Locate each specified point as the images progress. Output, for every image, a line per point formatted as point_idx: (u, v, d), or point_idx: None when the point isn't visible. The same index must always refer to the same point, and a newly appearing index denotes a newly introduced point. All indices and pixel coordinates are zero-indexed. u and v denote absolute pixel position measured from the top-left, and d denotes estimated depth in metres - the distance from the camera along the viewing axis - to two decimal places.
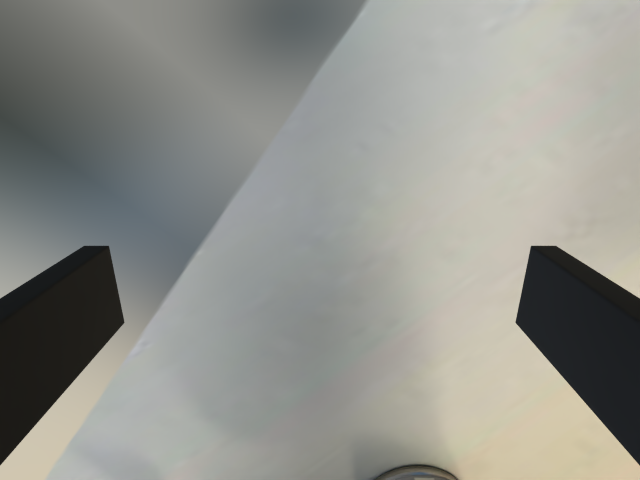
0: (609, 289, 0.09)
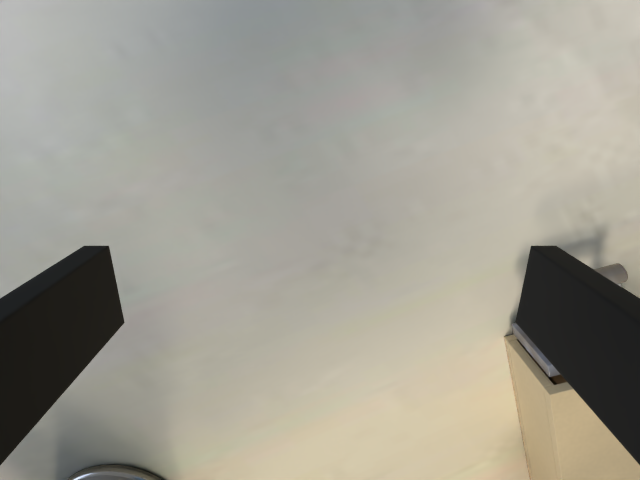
0: (609, 289, 0.09)
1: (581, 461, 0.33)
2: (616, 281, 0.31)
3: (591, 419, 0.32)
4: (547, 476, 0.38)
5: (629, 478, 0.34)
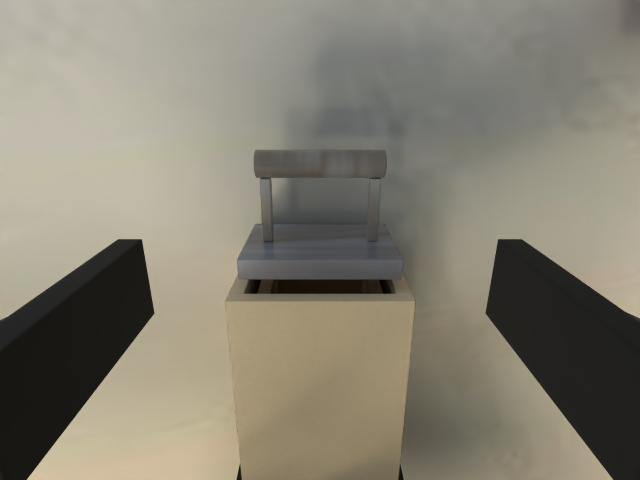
0: (562, 278, 0.10)
1: (266, 420, 0.23)
2: (370, 169, 0.21)
3: (284, 357, 0.22)
4: None
5: (330, 462, 0.24)
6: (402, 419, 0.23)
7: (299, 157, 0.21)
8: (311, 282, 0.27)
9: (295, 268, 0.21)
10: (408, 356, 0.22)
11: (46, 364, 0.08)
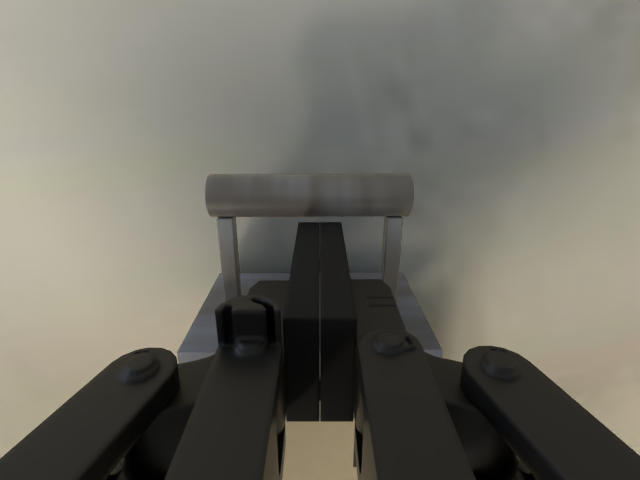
0: (333, 251, 0.11)
1: None
2: (387, 205, 0.14)
3: None
4: None
5: None
6: None
7: (277, 186, 0.14)
8: None
9: None
10: None
11: None
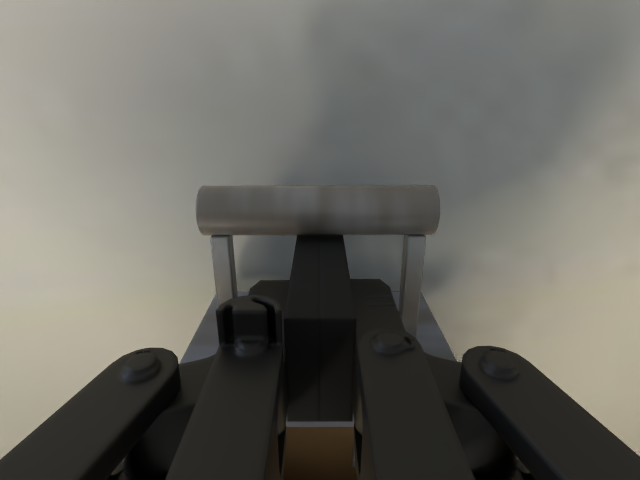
0: (332, 251, 0.11)
1: None
2: (409, 223, 0.12)
3: None
4: None
5: None
6: None
7: (279, 201, 0.12)
8: None
9: None
10: None
11: None
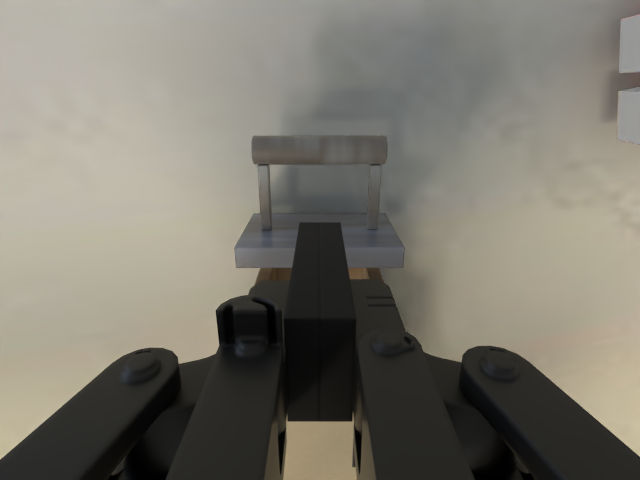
0: (332, 251, 0.11)
1: None
2: (370, 155, 0.21)
3: (286, 429, 0.23)
4: None
5: None
6: None
7: (298, 143, 0.21)
8: None
9: None
10: None
11: None
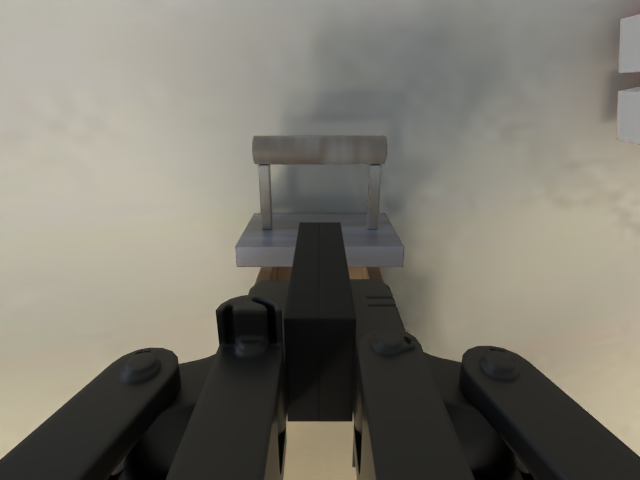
0: (332, 251, 0.11)
1: None
2: (370, 155, 0.21)
3: (286, 428, 0.23)
4: None
5: None
6: None
7: (298, 143, 0.21)
8: None
9: None
10: None
11: None
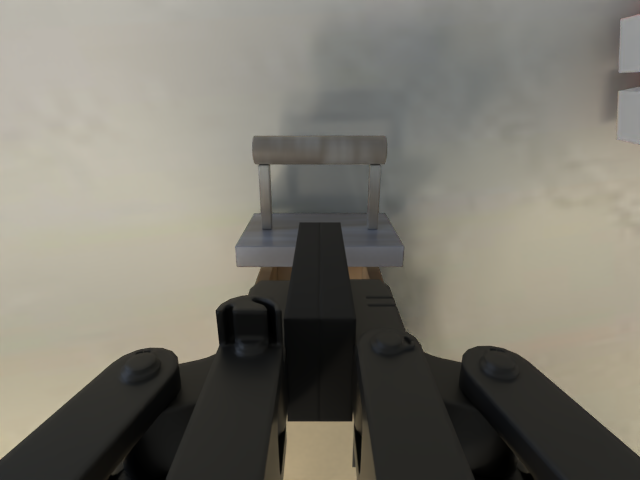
0: (332, 251, 0.11)
1: None
2: (370, 155, 0.21)
3: (286, 428, 0.23)
4: None
5: None
6: None
7: (298, 143, 0.21)
8: None
9: None
10: None
11: None
